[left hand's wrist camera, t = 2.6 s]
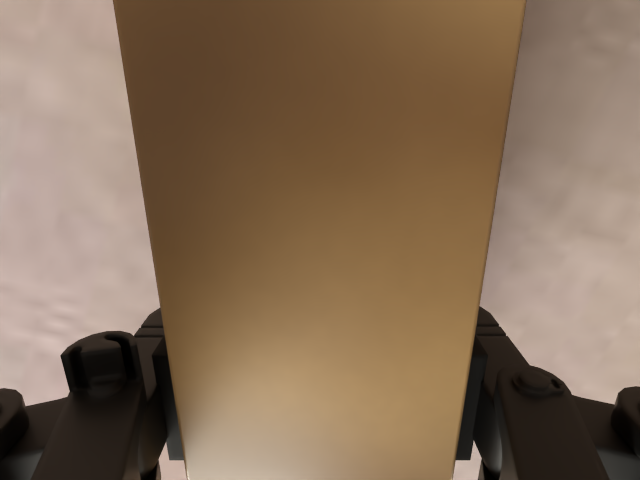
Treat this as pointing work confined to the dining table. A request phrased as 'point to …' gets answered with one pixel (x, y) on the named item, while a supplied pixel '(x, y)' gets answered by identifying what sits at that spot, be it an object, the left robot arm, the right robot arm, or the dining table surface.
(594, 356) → the dining table surface
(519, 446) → the left robot arm
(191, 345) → the beam
